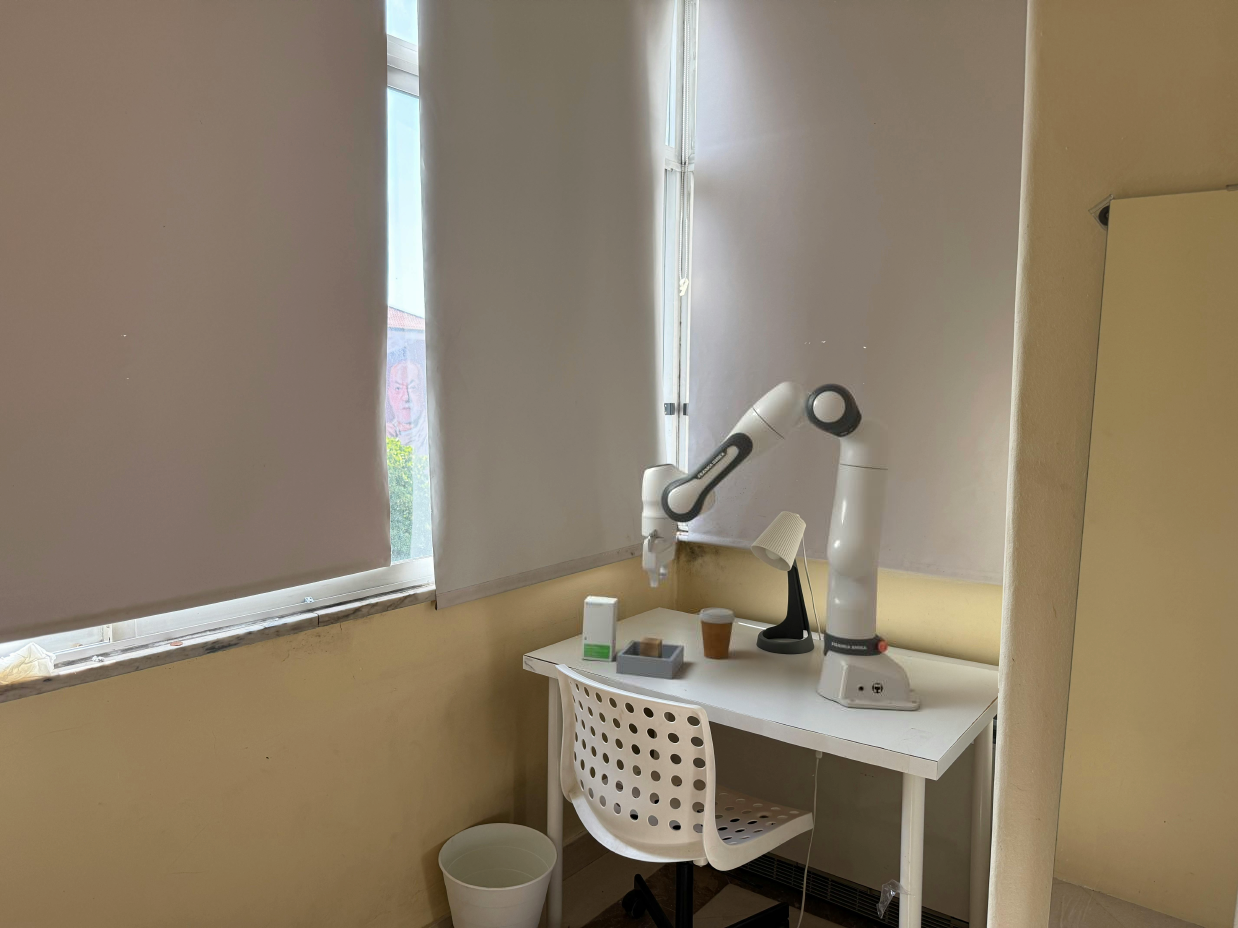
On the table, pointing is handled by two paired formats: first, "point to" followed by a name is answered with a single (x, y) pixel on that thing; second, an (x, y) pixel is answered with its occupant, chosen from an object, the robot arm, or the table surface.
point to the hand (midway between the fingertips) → (659, 582)
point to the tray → (650, 661)
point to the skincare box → (599, 628)
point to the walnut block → (651, 648)
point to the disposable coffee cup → (716, 631)
